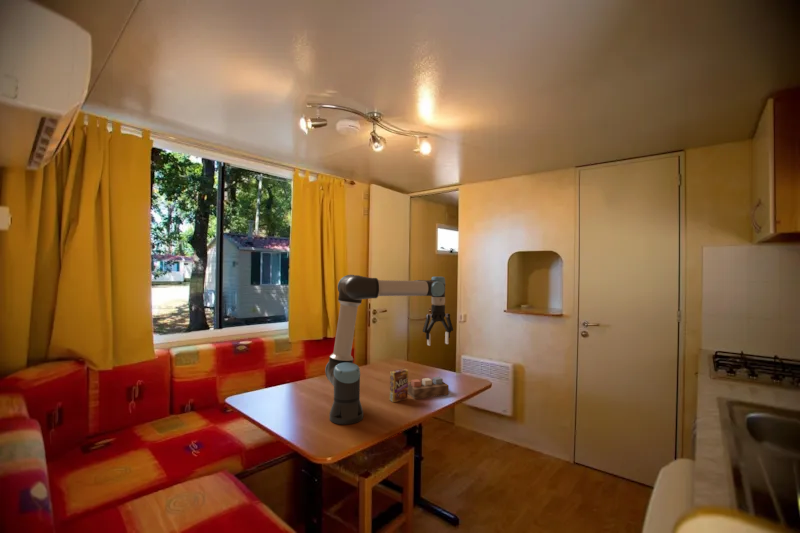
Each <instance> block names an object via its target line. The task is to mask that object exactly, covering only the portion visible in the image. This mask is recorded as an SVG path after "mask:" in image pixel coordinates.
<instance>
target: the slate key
mask: <svg viewBox="0 0 800 533" xmlns="http://www.w3.org/2000/svg"><path fill="white" fill-rule="evenodd" d="M432 379H433V383H434V384H443V382H444V380H443V378H442V377H440V376H434V377H432Z"/></svg>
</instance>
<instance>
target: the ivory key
mask: <svg viewBox="0 0 800 533" xmlns="http://www.w3.org/2000/svg"><path fill="white" fill-rule="evenodd" d="M421 381H422V384H423V385H424V386H428V385H432V379H431V378H430V377H425V378H422V379H421Z"/></svg>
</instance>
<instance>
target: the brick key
mask: <svg viewBox="0 0 800 533" xmlns="http://www.w3.org/2000/svg"><path fill="white" fill-rule="evenodd" d="M421 381H422V380H420V379H418V378H415V379H411V380H410V382H411V386H413V387H420V386H421Z"/></svg>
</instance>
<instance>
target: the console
mask: <svg viewBox="0 0 800 533" xmlns="http://www.w3.org/2000/svg"><path fill="white" fill-rule="evenodd" d="M431 380H432V385H428V386H424V385H423V384H422V380H420V381H421V386H420V387H413V386H411V381H408V395H409V396H410V397H411V398H412V399H414V400H418V399H427V398H435V397H440V396H447V395H449V385H448V383H445V382H444V381H443V384H434V383H433V378H432V379H431Z"/></svg>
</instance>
